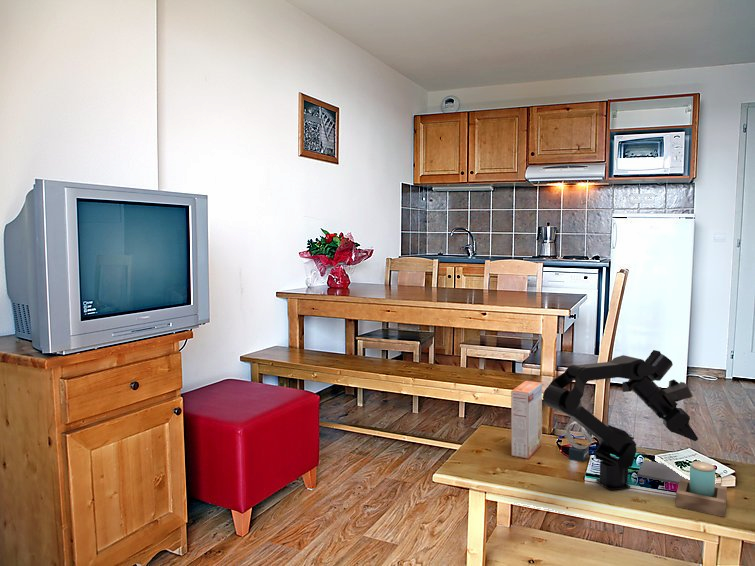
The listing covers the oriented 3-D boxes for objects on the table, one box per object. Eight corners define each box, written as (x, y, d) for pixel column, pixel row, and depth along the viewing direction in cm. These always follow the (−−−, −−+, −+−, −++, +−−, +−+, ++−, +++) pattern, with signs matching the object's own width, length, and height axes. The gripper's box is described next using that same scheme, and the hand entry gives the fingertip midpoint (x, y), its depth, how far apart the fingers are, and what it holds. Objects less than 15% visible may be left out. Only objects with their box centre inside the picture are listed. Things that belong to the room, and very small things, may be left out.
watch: (589, 463, 177) (590, 427, 176) (562, 457, 182) (563, 422, 181) (595, 457, 182) (596, 422, 181) (568, 452, 186) (569, 417, 185)
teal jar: (700, 509, 147) (701, 470, 146) (683, 499, 153) (685, 461, 152) (719, 507, 149) (720, 468, 148) (702, 497, 154) (703, 460, 153)
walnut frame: (675, 506, 149) (676, 492, 149) (680, 490, 158) (680, 478, 158) (724, 516, 143) (725, 502, 143) (726, 500, 152) (726, 486, 152)
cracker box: (524, 442, 195) (524, 379, 193) (542, 445, 192) (543, 382, 190) (509, 456, 183) (510, 389, 182) (528, 459, 180) (529, 392, 178)
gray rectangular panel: (721, 477, 166) (721, 474, 166) (719, 493, 156) (719, 489, 156) (644, 463, 177) (644, 460, 177) (637, 477, 167) (637, 473, 167)
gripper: (682, 381, 153) (727, 426, 151) (663, 365, 171) (704, 405, 169) (648, 409, 155) (693, 453, 154) (633, 391, 173) (673, 430, 172)
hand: (691, 434), depth 162 cm, fingers open, 9 cm apart
